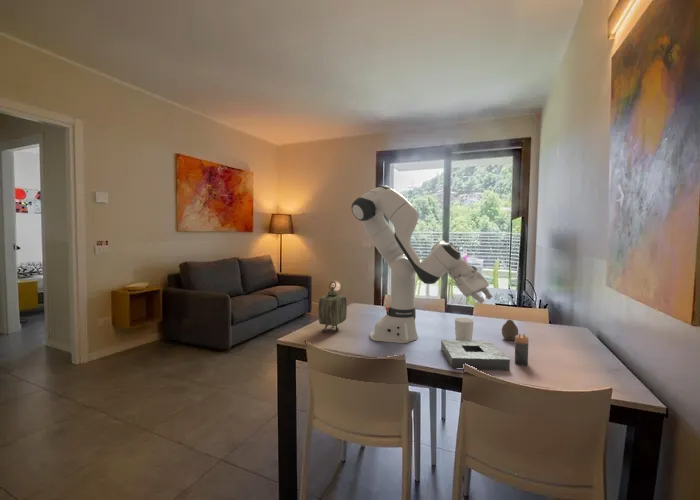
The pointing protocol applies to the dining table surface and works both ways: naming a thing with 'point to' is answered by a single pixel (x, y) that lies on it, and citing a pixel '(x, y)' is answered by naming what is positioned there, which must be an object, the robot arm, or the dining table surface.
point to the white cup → (463, 328)
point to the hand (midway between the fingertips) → (487, 300)
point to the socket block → (474, 354)
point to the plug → (521, 349)
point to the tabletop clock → (332, 308)
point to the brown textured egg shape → (509, 330)
